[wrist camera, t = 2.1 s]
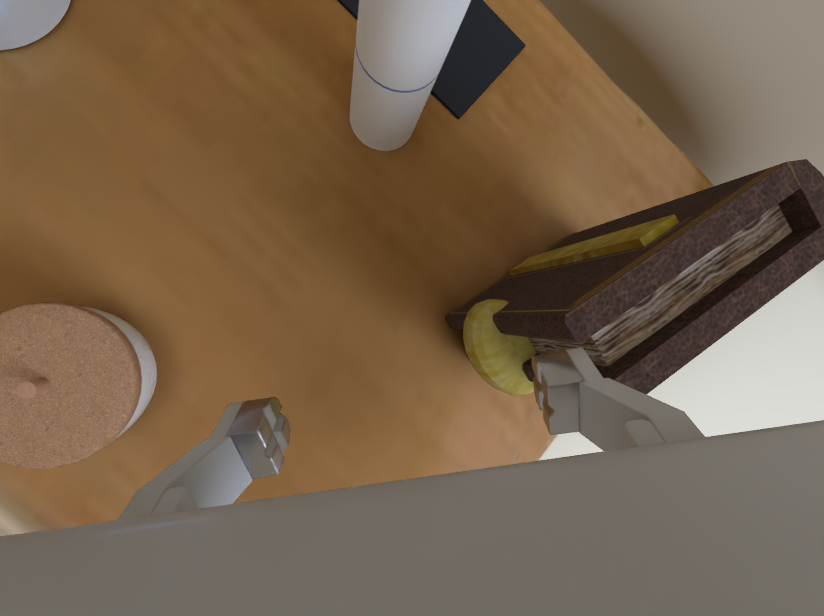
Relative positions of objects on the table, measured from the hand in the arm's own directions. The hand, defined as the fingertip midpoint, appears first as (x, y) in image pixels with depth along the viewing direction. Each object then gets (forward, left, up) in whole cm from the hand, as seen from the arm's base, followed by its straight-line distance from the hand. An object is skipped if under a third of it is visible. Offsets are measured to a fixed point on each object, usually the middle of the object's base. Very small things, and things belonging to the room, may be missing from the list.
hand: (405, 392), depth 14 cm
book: (+15, +11, -33) cm, 38 cm away
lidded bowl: (-21, -12, -33) cm, 41 cm away
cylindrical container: (-7, +23, -33) cm, 41 cm away
